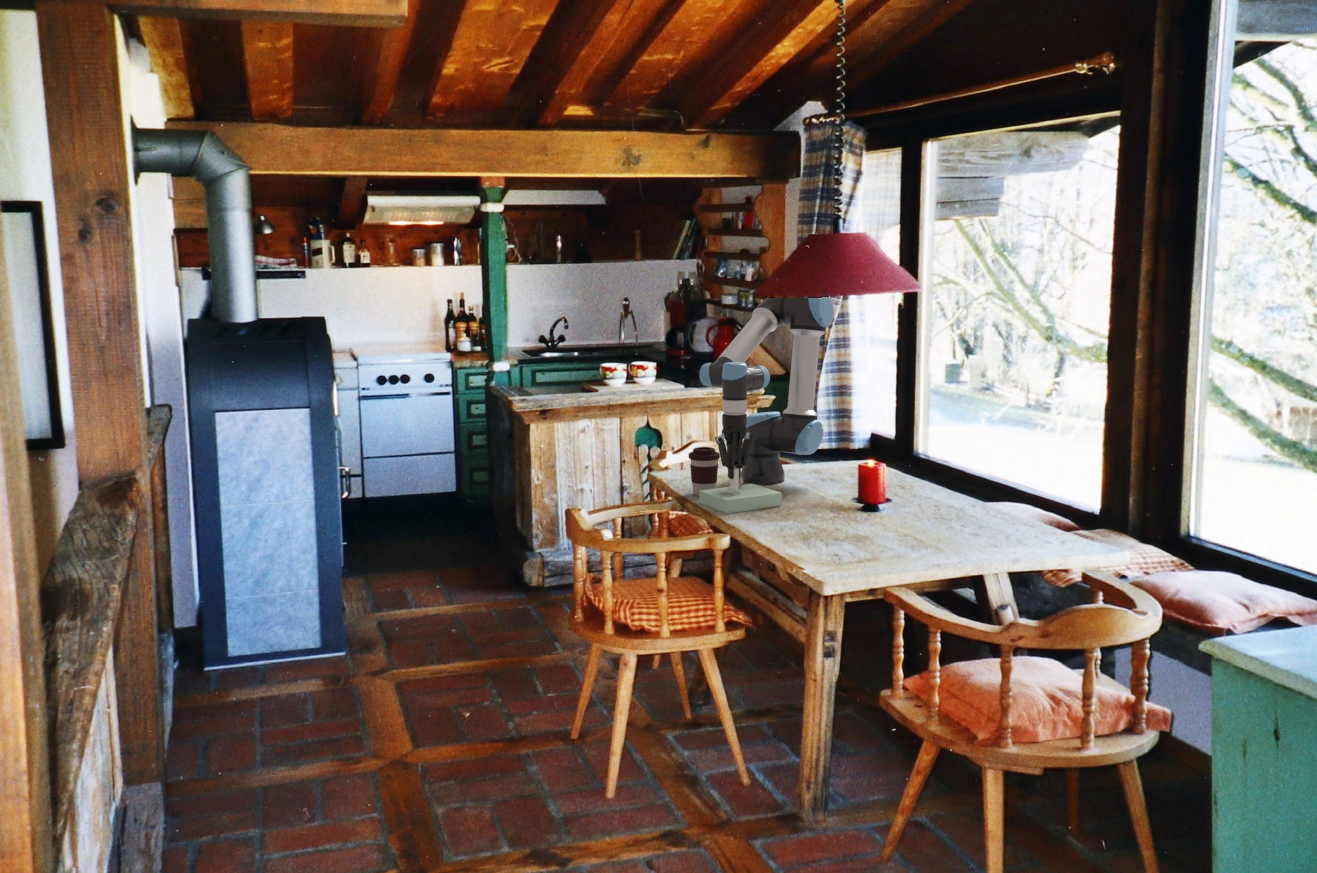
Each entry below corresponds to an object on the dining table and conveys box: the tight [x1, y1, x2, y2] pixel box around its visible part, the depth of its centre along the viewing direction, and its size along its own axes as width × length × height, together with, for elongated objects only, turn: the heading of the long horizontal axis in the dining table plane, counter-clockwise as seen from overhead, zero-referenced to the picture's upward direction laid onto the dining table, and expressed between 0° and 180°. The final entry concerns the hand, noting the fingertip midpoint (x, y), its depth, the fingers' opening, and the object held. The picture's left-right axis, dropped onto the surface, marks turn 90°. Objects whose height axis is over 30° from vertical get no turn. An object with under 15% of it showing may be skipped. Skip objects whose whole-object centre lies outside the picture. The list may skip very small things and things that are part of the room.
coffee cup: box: [688, 446, 721, 497], centre depth 368 cm, size 10×10×15 cm
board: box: [698, 483, 783, 514], centre depth 354 cm, size 20×16×4 cm
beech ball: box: [739, 477, 744, 487], centre depth 360 cm, size 4×4×4 cm
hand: (734, 488), depth 353 cm, fingers closed
